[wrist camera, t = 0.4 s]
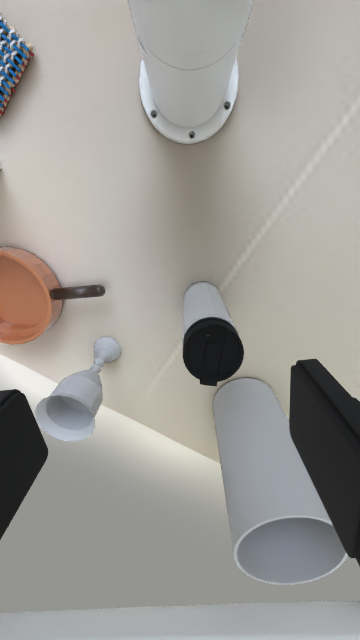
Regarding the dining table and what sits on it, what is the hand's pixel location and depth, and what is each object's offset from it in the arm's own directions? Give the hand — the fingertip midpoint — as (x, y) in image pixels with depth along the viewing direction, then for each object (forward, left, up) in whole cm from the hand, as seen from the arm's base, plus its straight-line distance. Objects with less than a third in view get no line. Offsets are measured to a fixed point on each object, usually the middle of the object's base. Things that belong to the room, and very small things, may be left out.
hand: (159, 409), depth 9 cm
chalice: (+15, -15, -36) cm, 41 cm away
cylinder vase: (+29, +10, -36) cm, 47 cm away
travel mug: (+7, +3, -36) cm, 36 cm away
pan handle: (+3, -16, -33) cm, 37 cm away
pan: (+3, -28, -35) cm, 45 cm away
